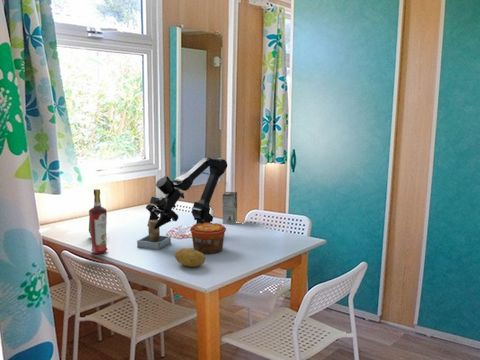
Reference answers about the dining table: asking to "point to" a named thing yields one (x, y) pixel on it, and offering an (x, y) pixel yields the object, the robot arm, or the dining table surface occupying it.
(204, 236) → the food container
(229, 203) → the coffee box
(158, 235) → the walnut cylinder
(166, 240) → the bin
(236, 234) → the dining table surface
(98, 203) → the liquor
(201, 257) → the potato
